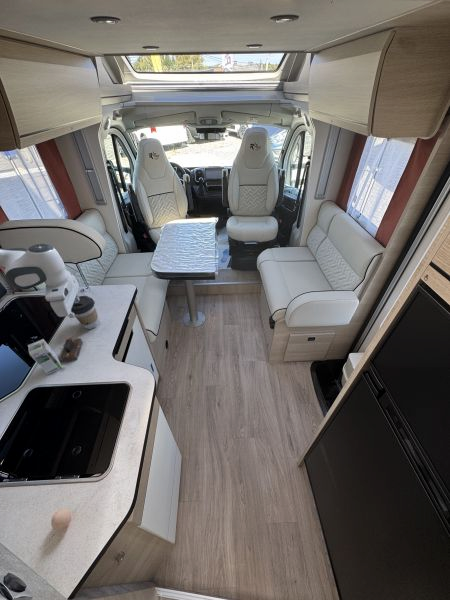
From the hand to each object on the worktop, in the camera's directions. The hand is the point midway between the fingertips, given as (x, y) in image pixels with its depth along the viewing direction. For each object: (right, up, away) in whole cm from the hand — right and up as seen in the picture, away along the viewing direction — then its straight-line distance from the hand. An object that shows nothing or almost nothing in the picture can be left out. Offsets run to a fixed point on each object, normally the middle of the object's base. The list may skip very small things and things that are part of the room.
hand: (75, 308), depth 107 cm
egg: (+19, -58, -36) cm, 71 cm away
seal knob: (-5, -17, +5) cm, 19 cm away
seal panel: (-5, -20, +7) cm, 22 cm away
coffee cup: (-3, -8, +20) cm, 22 cm away
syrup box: (-10, -25, +2) cm, 27 cm away
